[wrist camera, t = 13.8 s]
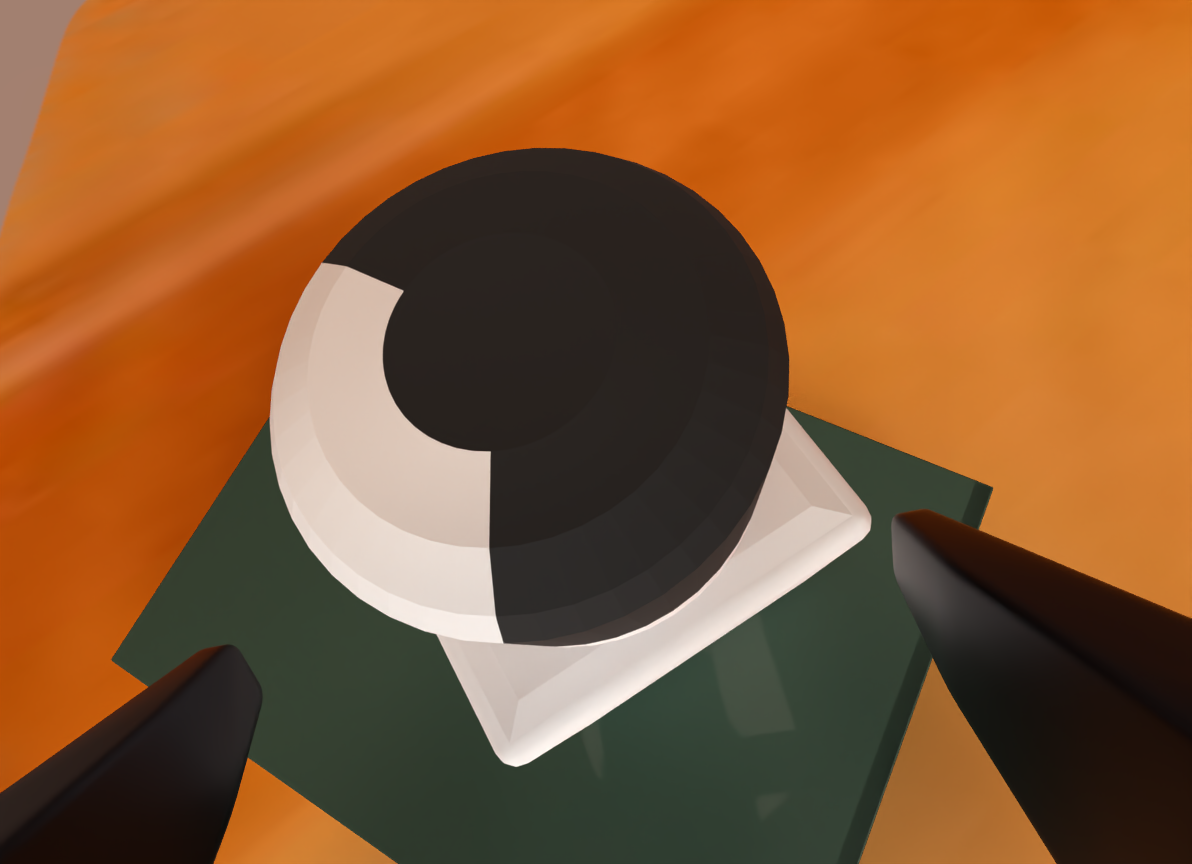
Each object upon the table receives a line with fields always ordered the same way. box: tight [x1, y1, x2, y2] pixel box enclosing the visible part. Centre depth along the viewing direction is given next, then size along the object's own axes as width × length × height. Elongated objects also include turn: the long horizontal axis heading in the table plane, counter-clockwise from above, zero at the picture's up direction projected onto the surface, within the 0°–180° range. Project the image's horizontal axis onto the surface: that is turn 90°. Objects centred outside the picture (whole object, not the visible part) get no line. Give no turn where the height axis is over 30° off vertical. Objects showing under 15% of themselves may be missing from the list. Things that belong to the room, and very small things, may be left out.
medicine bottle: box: [270, 148, 871, 767], centre depth 12 cm, size 7×7×12 cm
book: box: [111, 406, 993, 864], centre depth 19 cm, size 20×15×3 cm
